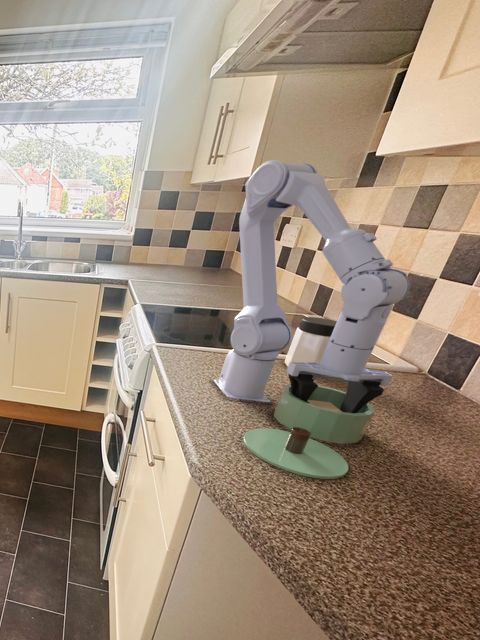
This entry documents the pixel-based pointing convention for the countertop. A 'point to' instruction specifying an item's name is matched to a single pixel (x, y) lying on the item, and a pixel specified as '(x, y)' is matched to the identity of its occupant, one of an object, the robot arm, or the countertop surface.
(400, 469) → the countertop surface
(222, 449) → the countertop surface
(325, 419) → the tin
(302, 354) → the jar
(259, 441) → the lid
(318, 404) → the block
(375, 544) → the countertop surface
